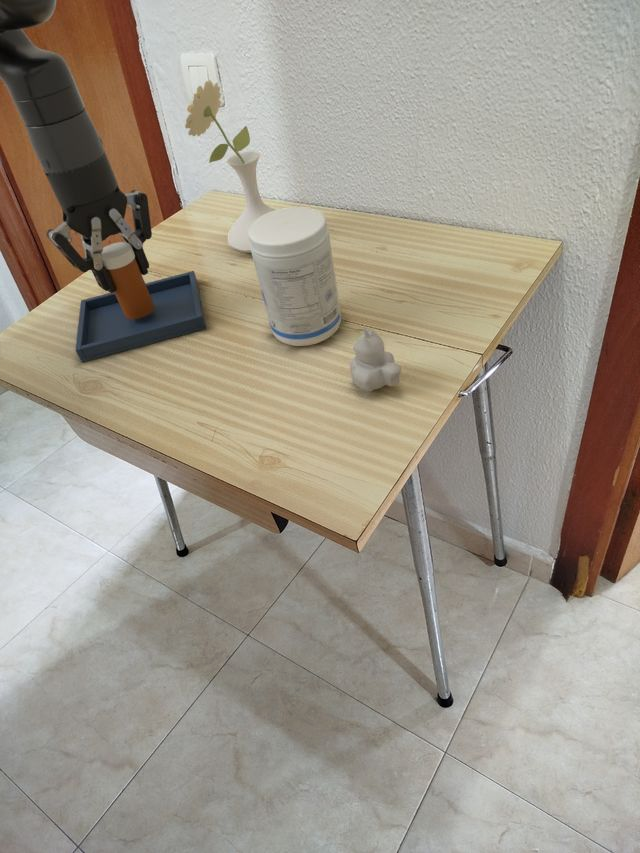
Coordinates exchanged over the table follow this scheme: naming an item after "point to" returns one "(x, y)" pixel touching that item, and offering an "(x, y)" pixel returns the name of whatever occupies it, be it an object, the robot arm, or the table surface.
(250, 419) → the table surface
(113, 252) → the pill bottle
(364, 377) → the grey figurine
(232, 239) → the flower in vase
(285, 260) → the supplement tub
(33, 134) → the robot arm
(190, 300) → the tray
